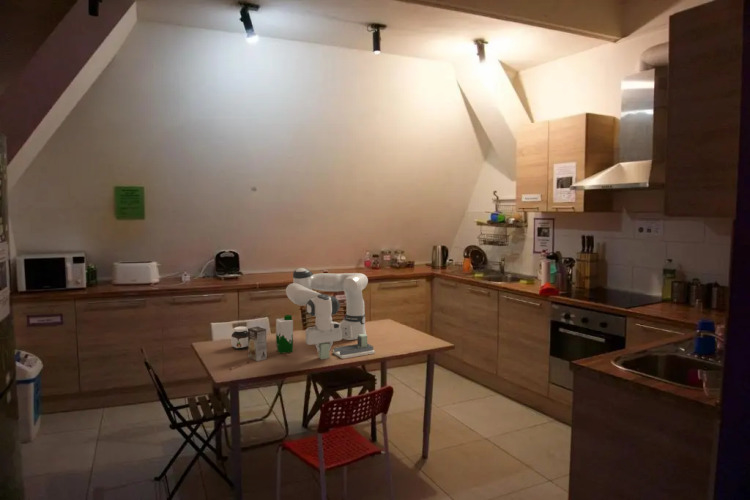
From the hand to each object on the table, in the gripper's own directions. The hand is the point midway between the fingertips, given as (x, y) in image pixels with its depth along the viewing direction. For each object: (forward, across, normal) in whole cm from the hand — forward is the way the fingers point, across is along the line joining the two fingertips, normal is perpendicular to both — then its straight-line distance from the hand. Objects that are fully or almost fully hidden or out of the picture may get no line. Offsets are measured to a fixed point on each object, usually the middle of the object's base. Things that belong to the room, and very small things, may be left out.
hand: (323, 350), depth 272 cm
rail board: (+4, +18, 0) cm, 18 cm away
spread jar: (+4, -32, +40) cm, 52 cm away
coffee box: (+4, -31, +17) cm, 36 cm away
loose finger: (+4, 0, 0) cm, 4 cm away
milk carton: (+4, -14, +22) cm, 27 cm away
